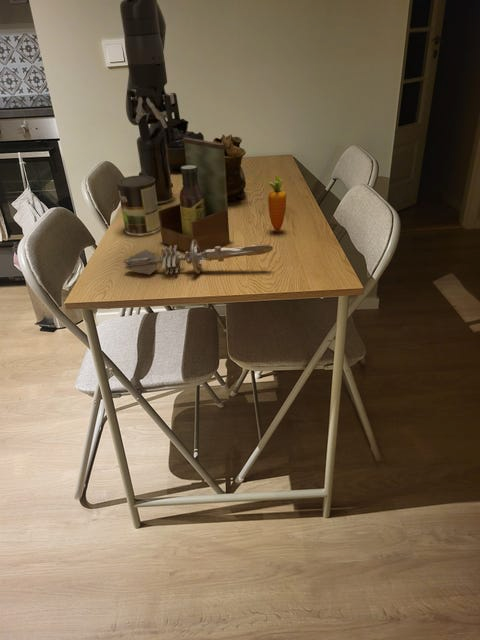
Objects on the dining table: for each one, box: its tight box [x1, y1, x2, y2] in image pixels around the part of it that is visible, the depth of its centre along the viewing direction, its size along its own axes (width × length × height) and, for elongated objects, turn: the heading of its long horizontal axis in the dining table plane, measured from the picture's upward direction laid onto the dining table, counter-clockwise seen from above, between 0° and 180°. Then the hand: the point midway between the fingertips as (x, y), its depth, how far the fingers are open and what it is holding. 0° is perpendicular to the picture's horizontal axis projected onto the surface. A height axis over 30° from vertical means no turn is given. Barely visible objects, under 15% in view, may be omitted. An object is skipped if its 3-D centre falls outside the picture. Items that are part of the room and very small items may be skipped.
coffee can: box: [116, 174, 161, 237], centre depth 132 cm, size 10×10×14 cm
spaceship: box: [123, 239, 274, 276], centre depth 109 cm, size 8×35×8 cm
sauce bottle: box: [179, 165, 205, 238], centre depth 121 cm, size 6×6×20 cm
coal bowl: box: [167, 118, 205, 170], centre depth 187 cm, size 20×20×19 cm
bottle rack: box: [158, 138, 231, 253], centre depth 119 cm, size 14×12×25 cm
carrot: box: [267, 175, 287, 233], centre depth 126 cm, size 5×5×15 cm
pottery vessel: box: [212, 134, 247, 202], centre depth 153 cm, size 25×11×20 cm, turn 3°
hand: (157, 142), depth 105 cm, fingers open, 8 cm apart
